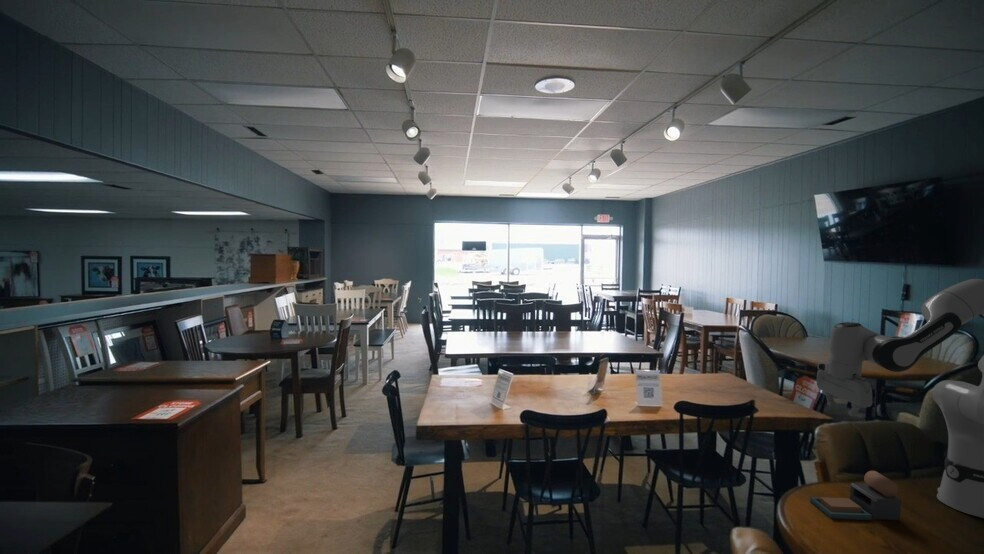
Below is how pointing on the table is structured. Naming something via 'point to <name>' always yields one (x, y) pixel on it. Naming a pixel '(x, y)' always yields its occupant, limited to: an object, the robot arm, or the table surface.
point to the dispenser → (877, 496)
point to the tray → (834, 515)
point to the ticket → (840, 505)
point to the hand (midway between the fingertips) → (841, 410)
